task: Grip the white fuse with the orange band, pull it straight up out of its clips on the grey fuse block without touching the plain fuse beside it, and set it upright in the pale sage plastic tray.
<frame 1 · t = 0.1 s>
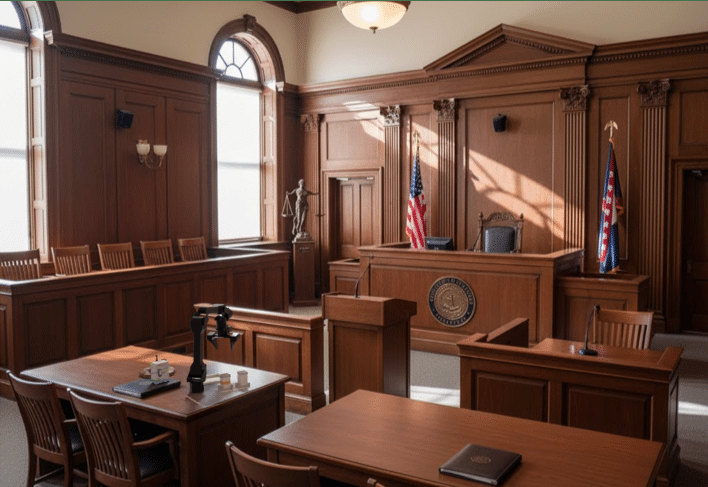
hand: (224, 350, 378), 15 cm above the table, tool pointing down, fingers open, 9 cm apart
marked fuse: (225, 389, 349), point 1 cm above the table, touching fuse block
ink box: (160, 383, 366), on the table
plain fuse: (242, 386, 355), point 1 cm above the table, touching fuse block
fuse block: (234, 389, 352), on the table
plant: (157, 374, 387), on the table
tray: (211, 381, 368), on the table
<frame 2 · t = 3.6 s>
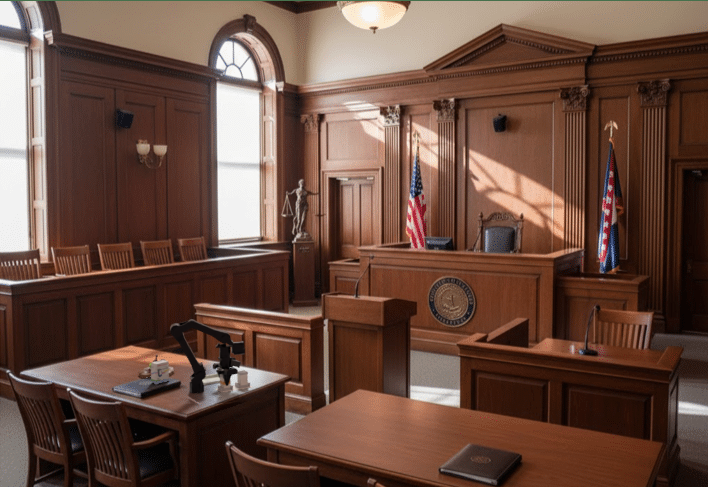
hand: (225, 384, 349), 4 cm above the table, tool pointing down, fingers closed on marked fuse, 4 cm apart
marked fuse: (225, 389, 349), point 1 cm above the table, touching fuse block, gripper
when the fingers open (4 cm above the table, at t = 9.4 s): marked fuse drops 1 cm, resting on tray.
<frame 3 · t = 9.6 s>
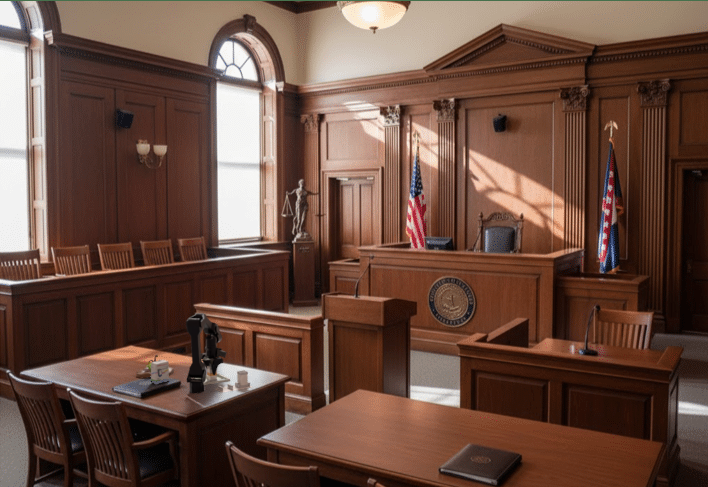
hand: (211, 373, 368), 4 cm above the table, tool pointing down, fingers open, 6 cm apart
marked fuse: (212, 380, 368), point 1 cm above the table, touching tray
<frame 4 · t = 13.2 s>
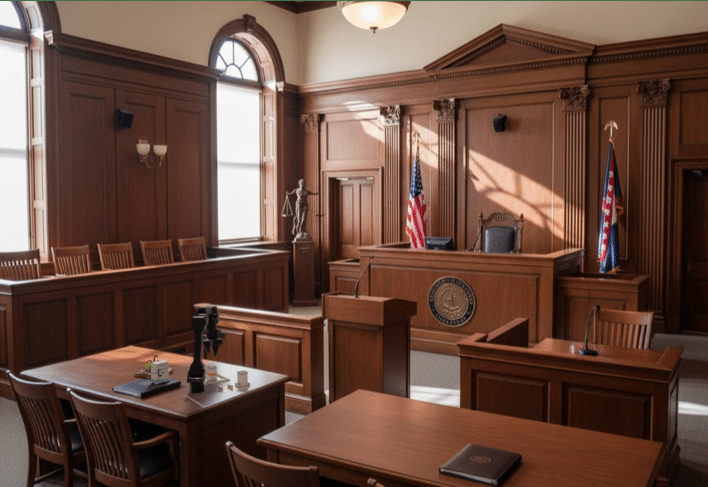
hand: (211, 354, 377), 13 cm above the table, tool pointing down, fingers open, 9 cm apart
at the end: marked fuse inside the target area on the tray (0.1 cm from its centre), point 0.5 cm above the tray's base; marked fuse tilted 0°; plain fuse moved 0.0 cm from its start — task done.
